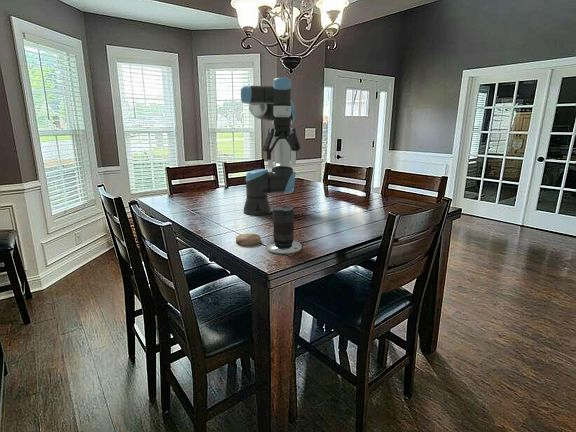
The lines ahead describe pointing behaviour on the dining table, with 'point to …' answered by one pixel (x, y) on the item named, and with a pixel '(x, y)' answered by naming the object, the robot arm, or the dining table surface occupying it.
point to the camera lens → (283, 226)
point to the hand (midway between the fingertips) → (282, 166)
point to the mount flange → (273, 249)
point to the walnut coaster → (248, 239)
